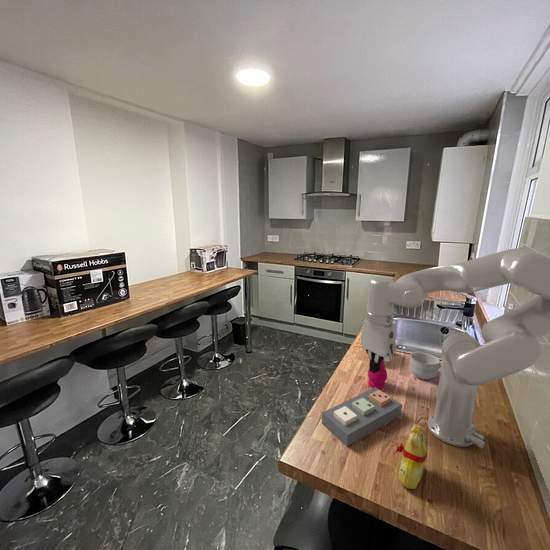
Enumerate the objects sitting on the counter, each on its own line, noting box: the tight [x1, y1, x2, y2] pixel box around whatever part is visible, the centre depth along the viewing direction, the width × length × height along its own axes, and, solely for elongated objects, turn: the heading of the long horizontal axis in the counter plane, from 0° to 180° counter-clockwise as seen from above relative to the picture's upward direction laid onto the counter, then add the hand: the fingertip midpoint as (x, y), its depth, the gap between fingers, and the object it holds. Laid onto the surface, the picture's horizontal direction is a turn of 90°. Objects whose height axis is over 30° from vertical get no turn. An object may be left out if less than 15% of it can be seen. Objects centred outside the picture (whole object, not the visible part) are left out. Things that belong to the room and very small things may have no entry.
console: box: [321, 387, 403, 448], centre depth 95 cm, size 11×25×4 cm, turn 122°
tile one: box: [333, 406, 357, 427], centre depth 90 cm, size 5×5×4 cm
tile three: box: [369, 390, 392, 407], centre depth 98 cm, size 5×5×4 cm
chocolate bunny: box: [394, 424, 428, 490], centre depth 74 cm, size 7×11×15 cm, turn 140°
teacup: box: [409, 351, 441, 380], centre depth 118 cm, size 14×11×8 cm
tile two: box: [352, 398, 375, 417], centre depth 94 cm, size 5×5×4 cm
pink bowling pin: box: [367, 360, 388, 391], centre depth 111 cm, size 7×7×20 cm
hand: (374, 371), depth 94 cm, fingers closed
